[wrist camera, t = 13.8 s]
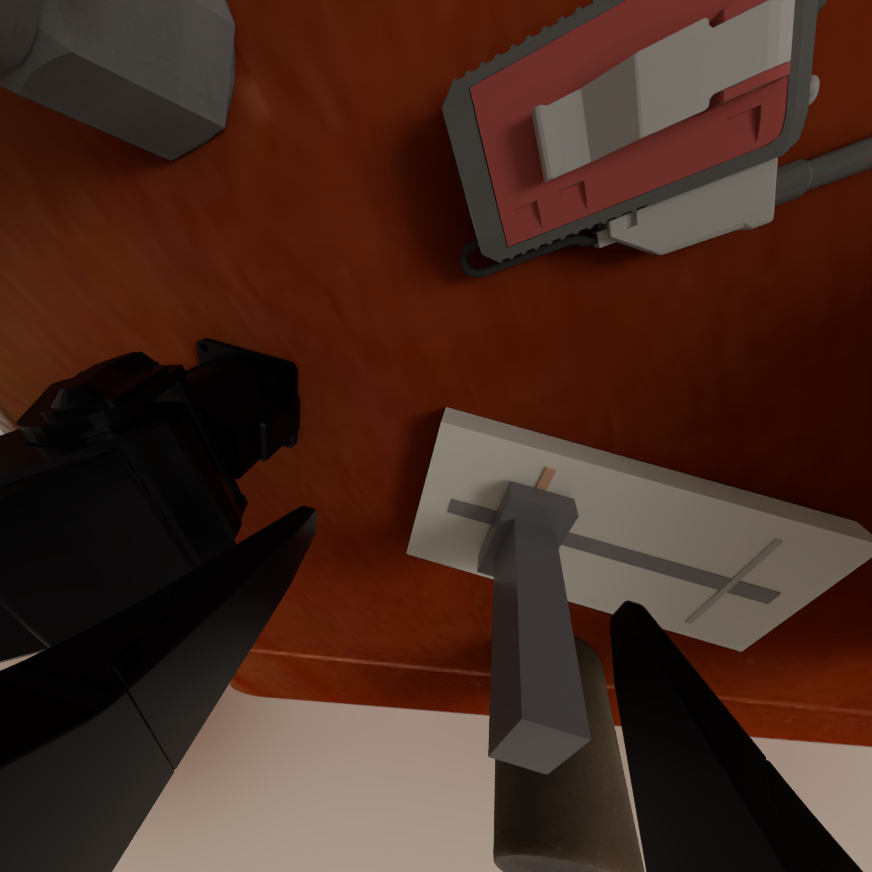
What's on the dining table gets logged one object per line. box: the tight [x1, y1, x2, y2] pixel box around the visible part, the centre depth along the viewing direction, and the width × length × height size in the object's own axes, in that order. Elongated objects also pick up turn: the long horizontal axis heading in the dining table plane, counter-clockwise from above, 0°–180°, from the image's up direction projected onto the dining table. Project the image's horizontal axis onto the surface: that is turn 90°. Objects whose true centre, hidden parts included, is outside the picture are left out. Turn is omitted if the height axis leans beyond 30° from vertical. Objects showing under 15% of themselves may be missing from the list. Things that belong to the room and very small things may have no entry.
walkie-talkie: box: [442, 0, 872, 277], centre depth 12 cm, size 9×4×20 cm
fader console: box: [406, 407, 872, 652], centre depth 24 cm, size 26×12×2 cm, turn 77°
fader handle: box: [477, 481, 591, 775], centre depth 18 cm, size 4×7×12 cm, turn 167°
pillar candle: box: [493, 638, 644, 872], centre depth 28 cm, size 10×10×15 cm
